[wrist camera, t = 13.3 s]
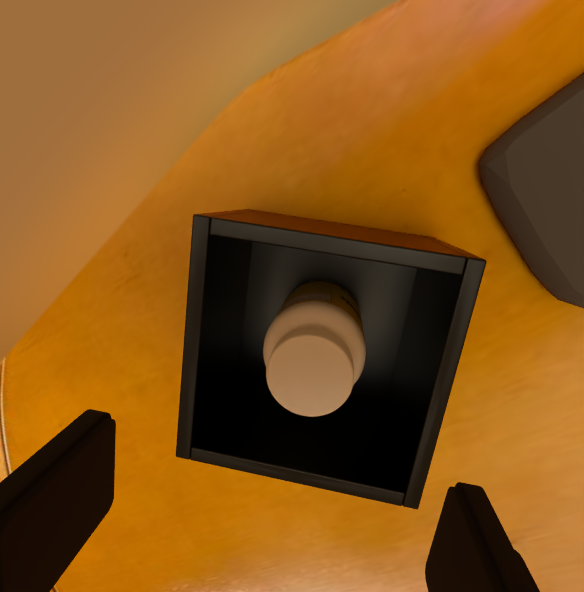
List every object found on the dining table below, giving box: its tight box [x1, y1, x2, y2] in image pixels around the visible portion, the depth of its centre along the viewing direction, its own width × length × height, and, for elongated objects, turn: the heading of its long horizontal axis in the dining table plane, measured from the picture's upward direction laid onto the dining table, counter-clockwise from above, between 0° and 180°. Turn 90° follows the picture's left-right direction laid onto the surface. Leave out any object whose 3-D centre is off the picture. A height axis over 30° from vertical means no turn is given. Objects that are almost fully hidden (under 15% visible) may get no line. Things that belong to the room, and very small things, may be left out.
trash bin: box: [176, 209, 486, 509], centre depth 23 cm, size 13×13×10 cm
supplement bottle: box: [263, 279, 366, 417], centre depth 22 cm, size 5×5×10 cm
